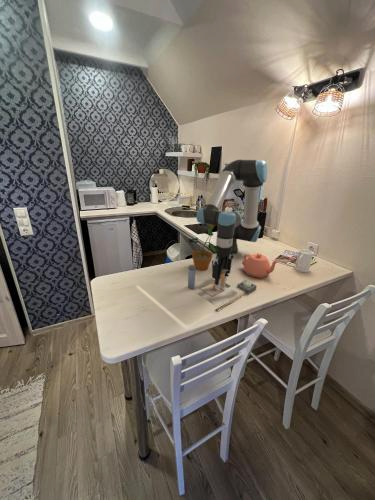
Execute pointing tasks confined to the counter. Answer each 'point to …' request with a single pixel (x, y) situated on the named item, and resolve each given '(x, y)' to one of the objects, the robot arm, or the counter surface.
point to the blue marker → (191, 277)
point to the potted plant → (203, 253)
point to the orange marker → (221, 276)
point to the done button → (247, 284)
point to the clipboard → (215, 293)
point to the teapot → (258, 265)
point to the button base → (248, 290)
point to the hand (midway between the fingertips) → (219, 288)
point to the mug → (303, 260)
